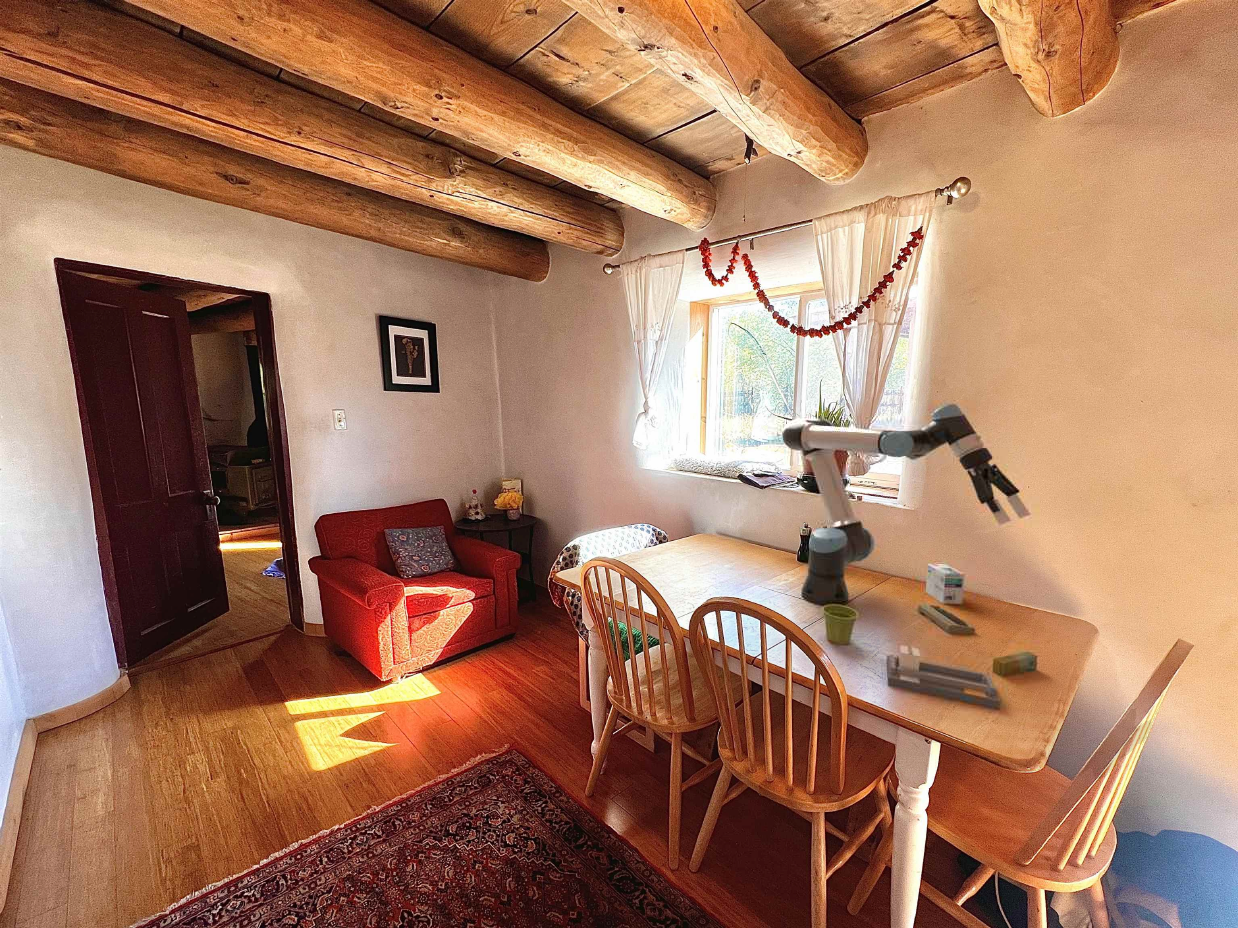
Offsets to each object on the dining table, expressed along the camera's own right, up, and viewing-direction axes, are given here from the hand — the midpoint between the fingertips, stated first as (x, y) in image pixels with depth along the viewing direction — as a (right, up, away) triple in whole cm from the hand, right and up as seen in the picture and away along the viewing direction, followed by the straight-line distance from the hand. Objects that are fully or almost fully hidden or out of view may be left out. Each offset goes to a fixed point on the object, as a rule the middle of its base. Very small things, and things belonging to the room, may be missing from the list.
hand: (1015, 519), depth 141 cm
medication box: (-9, -38, -11) cm, 40 cm away
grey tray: (-32, -38, -17) cm, 53 cm away
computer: (-8, -34, +18) cm, 39 cm away
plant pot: (-47, -35, +5) cm, 59 cm away
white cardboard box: (-38, -35, -15) cm, 54 cm away
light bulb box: (+3, -31, +36) cm, 48 cm away
